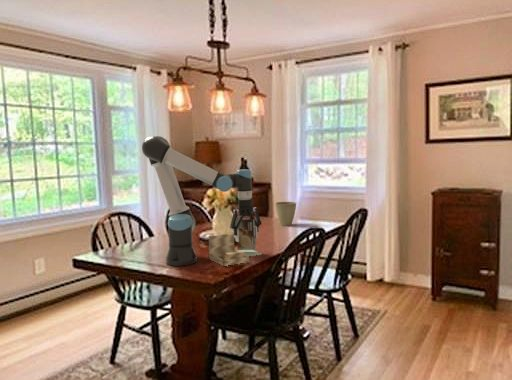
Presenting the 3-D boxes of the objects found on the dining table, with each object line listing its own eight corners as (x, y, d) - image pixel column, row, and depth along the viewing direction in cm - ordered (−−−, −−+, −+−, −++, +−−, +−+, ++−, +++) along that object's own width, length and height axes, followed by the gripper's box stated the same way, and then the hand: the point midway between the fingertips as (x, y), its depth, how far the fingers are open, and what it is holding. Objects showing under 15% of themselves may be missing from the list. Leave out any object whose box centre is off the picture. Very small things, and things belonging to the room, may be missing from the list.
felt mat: (241, 257, 227) (241, 256, 227) (230, 252, 238) (230, 251, 238) (261, 254, 232) (261, 253, 232) (249, 249, 244) (249, 248, 244)
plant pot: (300, 224, 317) (299, 202, 315) (290, 227, 304) (290, 204, 303) (281, 222, 325) (281, 201, 323) (271, 225, 312) (271, 203, 310)
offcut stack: (225, 266, 212) (225, 255, 212) (222, 264, 215) (222, 253, 215) (245, 262, 218) (245, 251, 217) (242, 261, 221) (241, 250, 220)
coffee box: (256, 247, 237) (255, 218, 236) (254, 250, 231) (253, 220, 229) (239, 247, 239) (238, 218, 237) (237, 250, 232) (236, 220, 231)
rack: (223, 267, 211) (222, 242, 209) (209, 259, 225) (208, 236, 224) (249, 262, 217) (248, 238, 216) (233, 255, 232) (233, 232, 231)
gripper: (228, 201, 223) (230, 244, 226) (267, 197, 234) (268, 238, 237) (222, 200, 230) (224, 241, 232) (260, 196, 241) (261, 235, 243)
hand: (246, 239), depth 234 cm, fingers closed on coffee box, 10 cm apart
